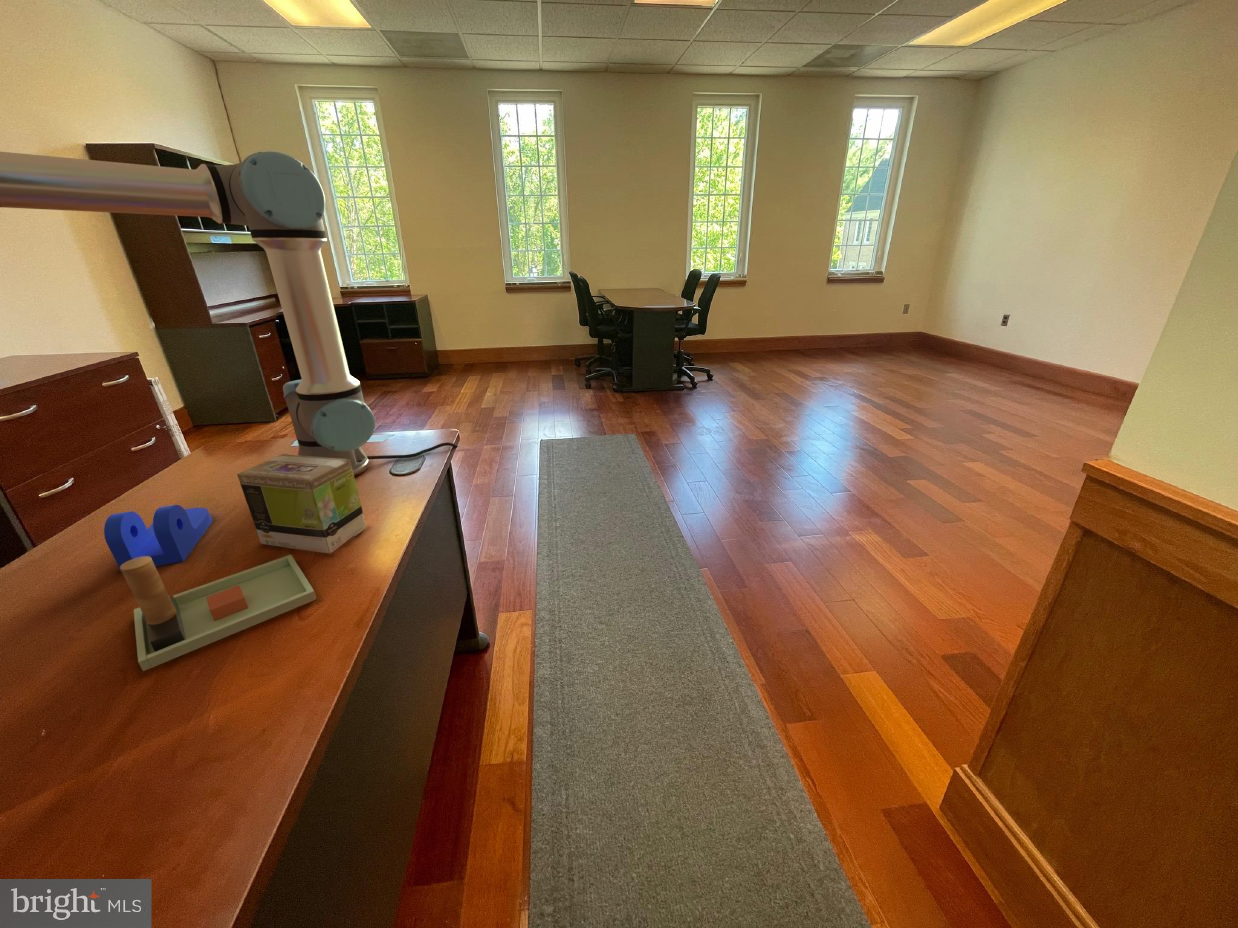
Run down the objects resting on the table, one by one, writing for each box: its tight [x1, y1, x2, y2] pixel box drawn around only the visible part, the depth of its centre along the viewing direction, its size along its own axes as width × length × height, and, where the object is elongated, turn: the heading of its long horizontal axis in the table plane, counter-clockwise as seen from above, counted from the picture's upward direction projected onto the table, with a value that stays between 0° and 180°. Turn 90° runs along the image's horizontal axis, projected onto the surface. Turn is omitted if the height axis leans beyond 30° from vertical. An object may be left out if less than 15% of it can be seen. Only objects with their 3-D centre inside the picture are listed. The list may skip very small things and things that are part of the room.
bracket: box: [103, 504, 213, 573], centre depth 86 cm, size 18×8×9 cm, turn 22°
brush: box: [119, 556, 186, 652], centre depth 64 cm, size 3×10×12 cm, turn 45°
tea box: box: [236, 453, 367, 554], centre depth 87 cm, size 15×10×15 cm, turn 78°
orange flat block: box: [206, 585, 248, 621], centre depth 70 cm, size 4×4×2 cm
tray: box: [133, 554, 317, 672], centre depth 70 cm, size 20×14×2 cm
